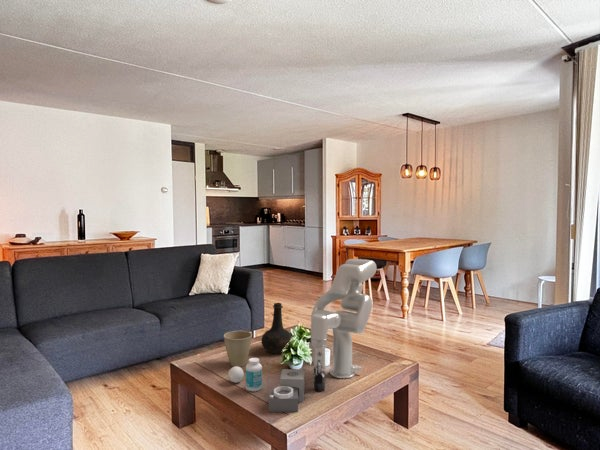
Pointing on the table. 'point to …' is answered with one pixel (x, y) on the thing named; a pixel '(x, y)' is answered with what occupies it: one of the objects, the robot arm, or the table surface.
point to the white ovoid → (236, 374)
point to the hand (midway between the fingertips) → (317, 379)
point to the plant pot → (238, 346)
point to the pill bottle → (253, 375)
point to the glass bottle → (276, 333)
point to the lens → (319, 386)
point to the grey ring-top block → (283, 399)
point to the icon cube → (294, 381)
